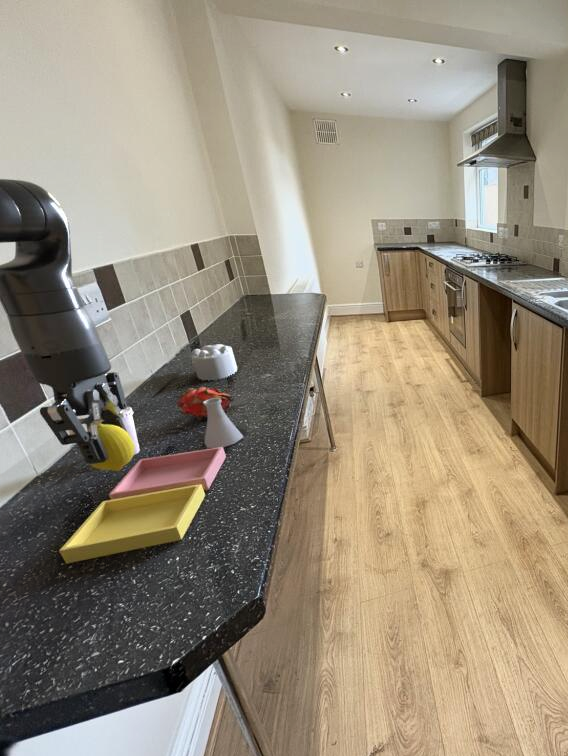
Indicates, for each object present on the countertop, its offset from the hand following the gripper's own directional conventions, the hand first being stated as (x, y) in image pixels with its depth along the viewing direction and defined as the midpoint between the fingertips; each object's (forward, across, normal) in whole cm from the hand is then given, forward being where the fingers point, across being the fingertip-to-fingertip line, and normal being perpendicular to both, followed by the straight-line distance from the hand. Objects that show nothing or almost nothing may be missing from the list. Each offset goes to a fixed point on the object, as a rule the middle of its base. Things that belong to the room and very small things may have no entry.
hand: (109, 450), depth 61 cm
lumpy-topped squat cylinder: (+14, -77, -9) cm, 79 cm away
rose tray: (+14, -14, 0) cm, 20 cm away
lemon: (+4, 0, 0) cm, 4 cm away
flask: (+14, -27, +5) cm, 31 cm away
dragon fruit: (+14, -43, -2) cm, 45 cm away
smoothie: (+14, -28, -13) cm, 34 cm away
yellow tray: (+14, 0, 0) cm, 14 cm away
